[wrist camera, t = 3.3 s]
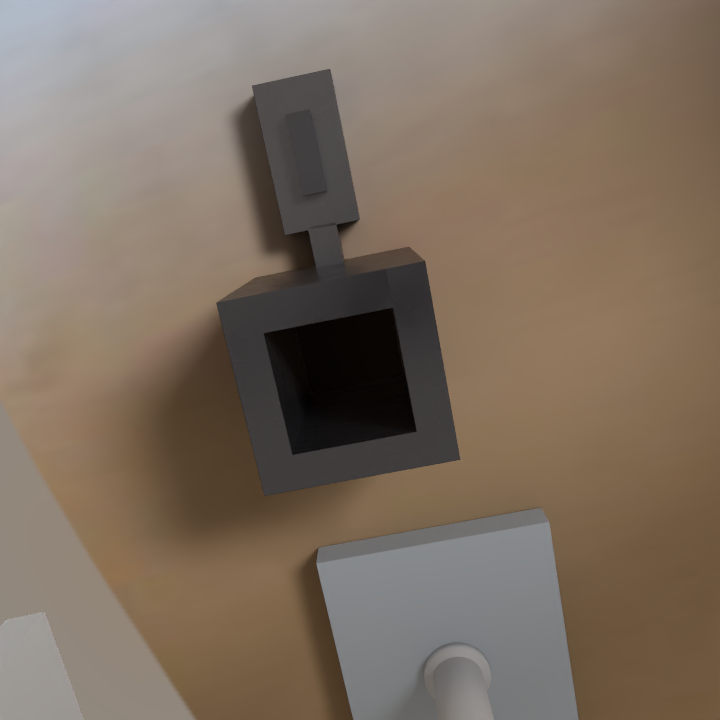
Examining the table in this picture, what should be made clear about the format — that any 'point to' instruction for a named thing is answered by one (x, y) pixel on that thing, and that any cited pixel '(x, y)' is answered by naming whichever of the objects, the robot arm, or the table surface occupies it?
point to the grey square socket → (327, 302)
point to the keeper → (451, 622)
